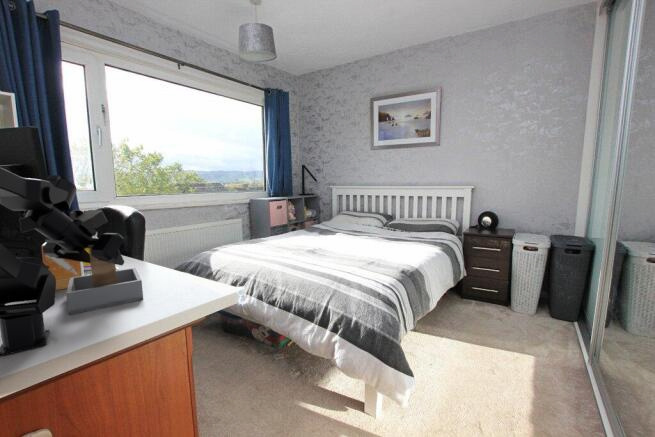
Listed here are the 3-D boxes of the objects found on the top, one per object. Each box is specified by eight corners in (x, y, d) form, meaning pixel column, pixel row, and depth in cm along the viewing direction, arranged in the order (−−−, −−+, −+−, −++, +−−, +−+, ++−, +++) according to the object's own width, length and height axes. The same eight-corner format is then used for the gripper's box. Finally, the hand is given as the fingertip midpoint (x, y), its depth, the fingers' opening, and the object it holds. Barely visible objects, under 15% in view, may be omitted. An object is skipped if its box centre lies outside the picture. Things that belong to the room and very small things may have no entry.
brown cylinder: (118, 295, 80) (113, 245, 79) (94, 300, 77) (88, 248, 76) (117, 290, 84) (112, 242, 83) (94, 294, 81) (88, 245, 80)
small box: (46, 292, 86) (40, 245, 85) (50, 285, 91) (44, 241, 90) (83, 286, 91) (78, 241, 89) (85, 280, 96) (80, 238, 94)
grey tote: (143, 299, 80) (141, 280, 79) (68, 314, 71) (66, 293, 70) (136, 284, 91) (135, 267, 91) (72, 296, 83) (70, 277, 82)
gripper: (113, 199, 72) (154, 238, 84) (50, 199, 76) (97, 236, 88) (83, 239, 65) (132, 275, 77) (16, 237, 70) (72, 271, 82)
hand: (108, 262), depth 81 cm, fingers open, 9 cm apart
